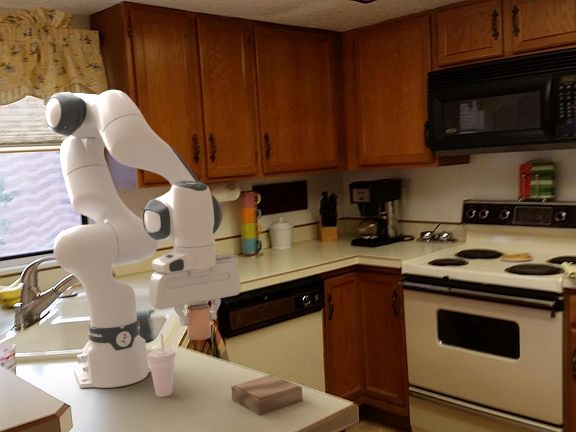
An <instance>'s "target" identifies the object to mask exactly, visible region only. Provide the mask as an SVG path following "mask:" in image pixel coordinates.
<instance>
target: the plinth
mask: <svg viewBox="0 0 576 432" xmlns="http://www.w3.org/2000/svg"><path fill="white" fill-rule="evenodd" d="M231 400H232V401H233V402H234V403H237V404H239V405H241V406H243V407H244V408H246V409H248V410H250V411H252V413H255V414H257V415H259V416H262V415H265V414H267V413H271V412H273V411H276V410H279V409H283V408H285V407H288V406H291V405H295V404H298V403H300V402H303V387H302V386H300V385H297V384H295V383H294V382H291V381H288V380H286V379H284V378H282V377H279V376H277V375H275V374H269V375H264V376H263V377H258V378H255V379H252V380H249V381H246V382H241V383H238V384H235V385H233V386H231Z"/></svg>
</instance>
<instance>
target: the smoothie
mask: <svg viewBox="0 0 576 432" xmlns="http://www.w3.org/2000/svg"><path fill="white" fill-rule="evenodd" d="M159 335H160V346H161V347H160V348H157V349H152V350H151V351H149V352H147V359H148V362H149V364H150V368H151V372H150V374H151V376H152V381H153V383H152V384H153V386H154V387H153V388H154V391H155V392H154V393H155V396H157V397H158V398H159V397H160V398H162V397H163V398H164V397H169V396H171V395H172V394H173V389H174V387H173V385H174V384H173V383H174V365H175V357H176V356H177V355H176V350H175V349H173V348H165V344H164V343H165V342H164V333H160V334H159Z"/></svg>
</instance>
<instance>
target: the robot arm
mask: <svg viewBox="0 0 576 432" xmlns="http://www.w3.org/2000/svg"><path fill="white" fill-rule="evenodd" d="M44 117H45V119H44V120H45V122H46V126H47V127H48V129H49V130H50V131H51V132H53V133H55V134H56V135H60V136H64V137H67V138H66V139H65V140H63V142H62V143H61V145H60V163H61V164H60V165H61V170H62V175H63V179H64V181H65V185H66V186H65V187H66V189H67V193H68V196H69V199H70V204H71V206H72V208H73V209H74V210H75V211H76V212H77V213H79V214H80V215H82V216H85V217H87V218H89V219H91V220H92V221H94V223H91V224H81V225H77V226H73V227H70V228H68V229H65V230H61V231H60V232H59V233H58V234H57V236H56V238H55V240H54V244H53V256H54V258H55V261H56V262H57V264H58V266H60V267H61V268H62V269H63V270H65V271H66V272H68V273H70V274H71V275H73V276H74V277H75V278H76V279H77V280H78V281H79V283H80V284H81V285H82V287H83V290H84V292H85V294H86V299H87V304H88V311H89V312H88V313H89V320H90V324H89V326H88V339H89V340H88V341H87V343H86V344H85V346H84V347H83V348H82V350H81V354H77V355H76V357H77V358H76V359H77V364H78V365H77V366H76V367H74V369H73V372H74V375H75V378H76V379H77V380H76V381H77V383H78V385H79V387H80V388H84V389H85V388H87V389H88V388H99V389H100V388H118V387H123V386H128V385H129V386H130V385H132V384H135V383H138V382H140V381H142V380H144V379H145V378H146V377H148V374H149V373H151V368H150V363H149V360H148V359H147V354H148V349H147V341H146V339H144V338H143V337H141V336H140V333H141V331H140V328H141V326H140V321H139V319H138V318H137V317H138V316H137V303H136V293H135V292H136V291H134V288H133V287H132V286H131V285H130V284H128V283H127V282H124V281H121V280H118V279H116V278H115V277H114V274H113V270H112V268H113V267H114V268H115V267H120V266H125V265H131V264H138V263H140V262H143V261H144V260H147V259H150V258H152V257H153V256H154V255H155V253H156V252H157V249H158V246H159V241H162V242H166V241H173V242H172V243H173V244H172V245H173V246H172V248H173V249H172V250H170V251H169V252H167V253H165V254H162V255H161V256H159V257H157V258H155V259H153V260H152V261H151V268H152V270H154V272H153V273H152V274H151V276H150V280H149V288H148V289H149V295H148V296H149V303H150V305H151V306H152V307H153V308H155V309H157V310H161V311H162V310H166V309H171V308H173V310H174V312H175V313H176V314H177V315H178V317H179V323H180V326H182V327H185V326H186V327H187V325H190V322H189V321H190V317H188V316H187V315H185V313H184V312H183V311H185V306H186V305H188V304H192V303H197V302H207V301H210V303H211V306H210V320H211V321H213V320H217V318H218V317H217V315H218V314H217V311H218V309H219V307H220V305H221V303H222V300H221V299H223V298H228V297H233V296H237V295H239V294H240V292H241V291H242V284H241V278H240V273H239V259H238V257H237V256H236V255H234V254H232V253H230V252H228V253H225V254H217V249H216V239H215V236H214V235H215V234H216V233H217V231H218V229H219V228H220V226H221V225H222V221H223V218H224V217H223V213H224V212H223V209H222V206H221V203H220V202H219V201H218V199H217V197H216V196H214V195H213V194H212V193H211V190H210V187H209V186H208V185H207V184H206V183H204V182H201V181H200V180H199V178H197V176H196V175H195V174H194V172H193V171H192V170H191V168H190V166H189V165H188V164H187V163H186V161H185V160H184V159H183V158H182V156H181V155H180V153H179V152H178V151H177V150H176V149H175V147H173V146H172V145H170V144H169V143H167V142H166V141H165V140H163V139H162V138H161V137H160V136H159V135H158V134H156V132H155V131H154V130H153V129H152V128H151V126H150V125H149V124H148V122H147V121H146V119H145V117H144V115H143V114H142V112H141V110H140V109H139V107H138V106H137V105H136V103H135V101H133V99H132V98H130V96H129V95H128V94H127V93H126V92H123V91H121V90H116V89H110V90H106V91H104V92H102V93H100V94H94V93H93V94H92V93H90V94H88V93H73V92H70V91H66V92H65V91H63V92H56V93H54V94H53V95H51V97H50V98H49V99H48V100H47V102H46V105H45V109H44ZM105 148H106V150H107V151H108V153H109V155H110V156H111V158H113V159H114V160H115V161H116V162H117V163H119V164H120V165H124V166H126V167H129V168H133V169H140V170H144V171H147V172H151V173H154V174H157V175H159V176H161V177H163V178H164V179H165V180H166V181H168V182H169V183H170V185H171V188H170V190H169V191H168V192H166V193H165V194H163V195H161V196H159V197H156V198H152V199H150V201H148V202H147V204H146V205H145V207H144V209H143V212H142V218H140V216H137V215H136V214H135V213H133V211H131V210H130V208H129V207H127V206H126V204H125V203H124V202H123V201H122V199H121V197H120V196H119V194H118V191H117V188H116V187H115V184H114V181H113V178H112V175H111V173H110V169H109V166H108V163H107V161H106V157H105Z"/></svg>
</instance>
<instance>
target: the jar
mask: <svg viewBox="0 0 576 432" xmlns="http://www.w3.org/2000/svg"><path fill="white" fill-rule="evenodd" d="M210 308H211V306H210V305H209V303H208V302H207V301H203V302H197V303H192V304H187V307H186V308H185V311H186V313H185V314H186V315H185V316H188V317H190V321H189V322H190V325H186V327H187V328H186V330H187V332H186V333H187V339H188V340H191V341H201V340H202V341H203V340H207V339H210V338H211V337H212V322H211V321H212V320H210Z"/></svg>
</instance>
